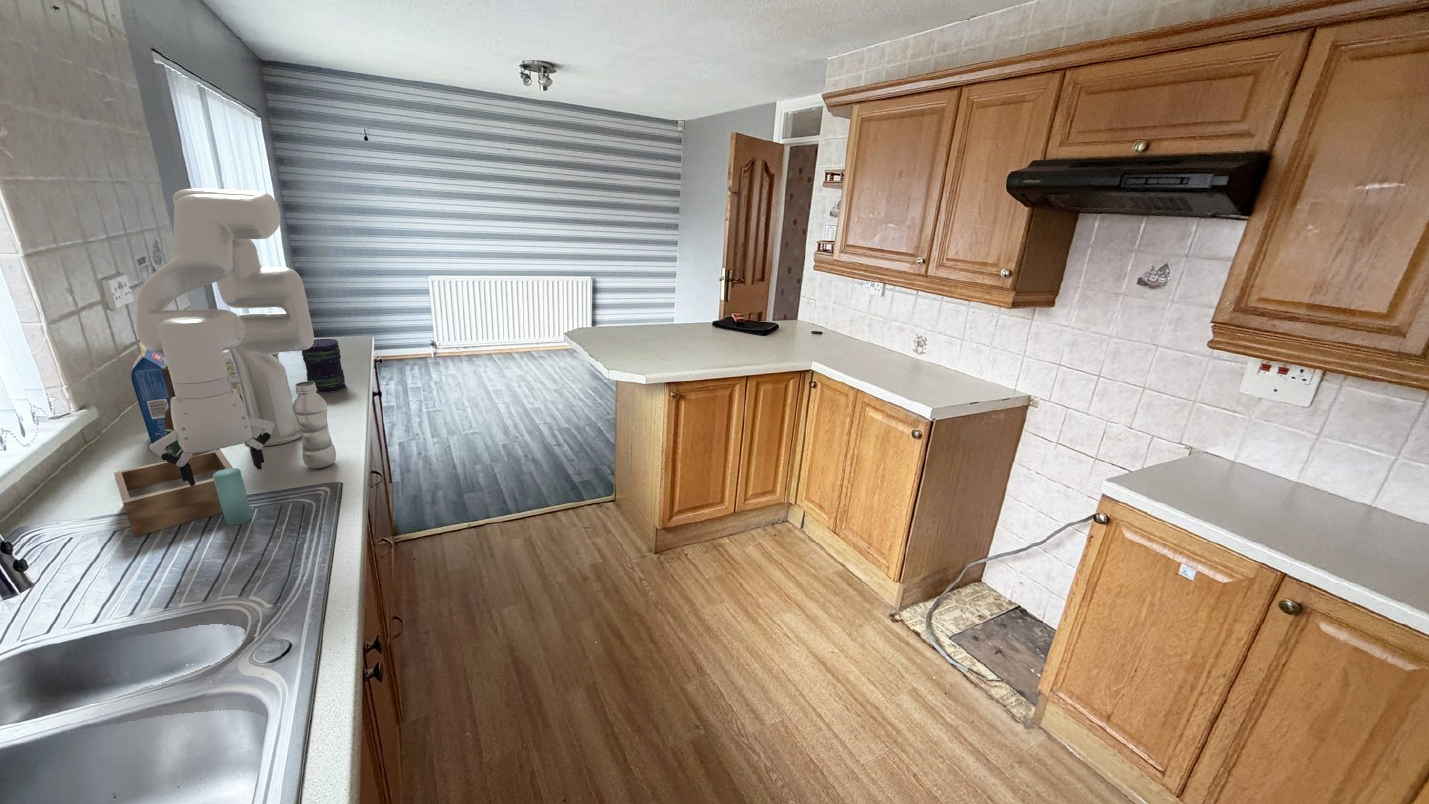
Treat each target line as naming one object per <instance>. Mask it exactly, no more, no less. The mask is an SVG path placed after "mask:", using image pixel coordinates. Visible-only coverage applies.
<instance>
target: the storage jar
mask: <svg viewBox="0 0 1429 804" xmlns="http://www.w3.org/2000/svg"><path fill="white" fill-rule="evenodd" d="M301 356H302V360H303V363H304V365H305V369H306V381H312V382H315V385H316V388H317V391H316V393H317V394H327V393H328V394H329V393H336V392H339V391H342V390H344V389H345V388H346V387H347V384H346V380H345V379H346V377H345V374H344V370H343V367H342V362H341V359H342V357H341V350H340V346H339V340H337V339H334V338H316V339H315V338H314V342H313V345H312V346H311V347H310V348H309V349H307V350H302V351H301Z"/></svg>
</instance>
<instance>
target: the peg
mask: <svg viewBox="0 0 1429 804" xmlns="http://www.w3.org/2000/svg"><path fill="white" fill-rule="evenodd" d="M213 479H214V483H215V486H216V490H217V494H218V497H219V501H220V504H221V508H222V514H223V518H224V522H225V524H226V525H229V526H234V525H241V524H244V523H247V522H248V521H250V520H251V519H252V518H253V515H252V510H251V507H250V502H249V499H248V495H247V491H246V487H245V483H244V480H243V476H242V471H241V469H240V468H239V467H237V468H236V467H235V468H234V467H233V468H229V469H224V470H220V471H218V472H216V473H214V474H213Z"/></svg>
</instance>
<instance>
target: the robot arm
mask: <svg viewBox="0 0 1429 804" xmlns="http://www.w3.org/2000/svg"><path fill="white" fill-rule="evenodd" d="M172 202H173V206H174V208H173V209H174V211H173V212H174V213H173V245H172V246H173V247H172V249H173V250H172V251H173V252H172V253H173V256H172V257H173V258H172V259H171V260H170V261H169V262H168V263H166V264H164V265H162V266H161V267H160V268H159V269H158V270H157V271H155V272H154V273H152V275H151V276H150V277H149V278H148V279H147V281H145V282H144V284H143V285H142V287H141V288H140V290H139V292H138V295H137V301H136V303H137V304H136V331H137V332H136V333H137V335H138V339H139V341H140V344H141V343H142V344H143V345H144V346H145V347H146V348H147V349H149V350H151V351H154V352H159V353H162V354H163V355H165V358H166V362H167V366H168V369H169V373H170V376H171V380H172V384H173V387H174V391H175V395H176V397H173V398H171V415H172V421H173V426H174V431H173V432H171V433H170V434H168V435H166V436H165V437H163V438H161V439H160V440H158V441H156V442H155V443H153V444H151V443H150V445H149V449H150V450H151V452H152V453H154V454H155V455H156V456H158V457H160V458H161V460H163V461H167V462H170V463H172V464H175V465H177V466H178V467H179V470H180V474H181V477H182V480H183V482H184V481H188V482H189V484H190V486H194V485H195V480H194V476H193V473H192V469H191V466H190V464H189V462H188V460H189V459H190V458H191V456H192V455H193V454H195V453H201V452H206V451H211V450H216V449H220V450H221V449H225V448H230V447H234V446H237V445H239V446H240V445H243V444H246V445H248V446H250V447H249V452H250V455H251V460H252V464H253V466H254V467H255V469H256V470H260V471H261V470H263V466H262V464H264V463H265V458H264V454H263V448H264V447H267V446H268V447H269V446H277V445H283V444H286V443H289V442H290V443H291V442H292V441H293V442H294V441H295V440H297V439H300V438H302V437H301V433H300V429H299V425H298V422H297V420H296V417H295V415H294V412H293V409H292V408H293V403H294V402H293V398H292V394H291V390H290V385H289V380H288V375H287V371H286V368H285V366H284V365H283V363H282V362H281V361H280V360H279V361H278V360H277V359H276V358H275V357H274V356H272V355H271V354H270V353H274V352H279V353H285V352H286V353H287V352H290V353H291V352H302V350H307V349H309V348H310V347H311V346H312V345H313V342H314V340H315V336H314V329H313V323H312V319H311V315H310V309H309V305H308V299H307V294H306V291H305V286H304V283H303V280H302V278H301V276H300V274H299V273H298V272H297V271H296V270H294V269H292V268H289V267H284V266H282V267H281V266H262V265H261V262H260V259H259V254H258V249H257V246H256V244H255V243H254V242H253V241H252V240H266V239H269V238H271V237H272V235H273V234H275V233H276V231H277V230H278V229H279V227H280V223H281V213H280V207H279V206H278V203H277V201H276V200H275V198H274V197H273V196H272V195H271V194H269V193H267V192H266V191H265V192H264V191H257V190H242V189H241V190H237V189H236V190H235V189H222V188H220V189H219V188H184V189H180V190H178V191H176V192H175V193H174V194H173V197H172ZM214 283H216V285H217V289H218V293H219V295H220V299H221V300H222V302H223V303H224V304H225V305H226V306H227V307H230V308H233V309H243V310H244V309H246V310H247V309H249V310H250V309H251V310H253V309H279V308H280V309H282V310H283V311H284V312H262V313H261V312H258V313H257V312H255V313H251V312H250V313H241V314H240V313H238V314H237V313H235V312H233V311H231V310H228V309H227V310H226V309H220V308H216V309H215V308H214V309H213V308H212V309H209V308H208V309H177V310H176V309H175V310H173V309H171V310H169V309H168V310H167V308H168V307H169V305H170V304H171V303H172V302H173V301H174V300H176V299H177V298H178V297H180V296H183V295H184V294H186V293H189V292H192V291H195V290H196V289H200V288H204V287H205V286H208V285H210V284H214ZM225 350H228V351H229V353H230V356H231V358H232V361H233V364H234V367H235V371H236V375H237V376H236V377H234V376H230V375H228V370H227V366H226V362H225V358H224V355H223V351H225ZM236 384H239V387H240V391H241V395H239V393H238V391H237V390H236V389H233V388H232V387H234V385H236ZM176 440H177V442H178V445H179V447H181V450H180V451H179V452H178V454H177V455H175V454H173V453H172V452H170V451H168V450H167V449H165V448H166V447H169V446H168V445H169V444H171V443H173V442H174V441H176Z"/></svg>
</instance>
